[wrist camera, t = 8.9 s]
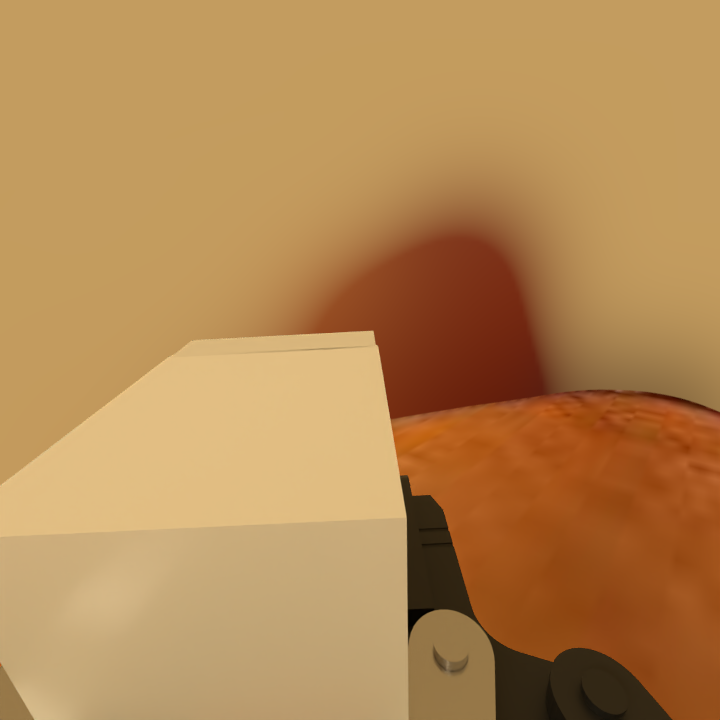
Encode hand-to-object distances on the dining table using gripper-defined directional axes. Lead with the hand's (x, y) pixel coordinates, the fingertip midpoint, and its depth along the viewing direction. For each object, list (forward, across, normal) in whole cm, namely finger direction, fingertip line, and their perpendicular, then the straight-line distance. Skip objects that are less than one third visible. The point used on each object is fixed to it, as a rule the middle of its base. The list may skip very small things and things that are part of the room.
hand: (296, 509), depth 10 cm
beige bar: (-3, 0, +6) cm, 7 cm away
